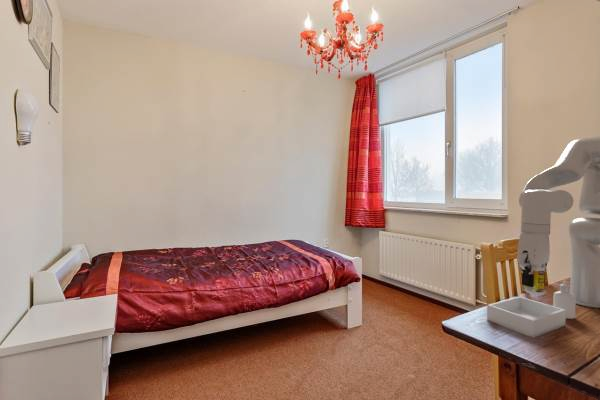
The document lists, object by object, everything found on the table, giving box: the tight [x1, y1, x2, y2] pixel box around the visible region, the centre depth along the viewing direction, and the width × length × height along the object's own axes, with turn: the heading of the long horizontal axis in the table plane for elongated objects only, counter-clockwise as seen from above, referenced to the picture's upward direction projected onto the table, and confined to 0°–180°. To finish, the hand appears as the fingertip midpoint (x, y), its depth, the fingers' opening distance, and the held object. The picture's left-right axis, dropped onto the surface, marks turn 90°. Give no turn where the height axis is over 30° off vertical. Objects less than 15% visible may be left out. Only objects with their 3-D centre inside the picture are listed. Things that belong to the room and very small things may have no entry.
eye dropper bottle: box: [552, 280, 577, 320], centre depth 105 cm, size 4×6×12 cm
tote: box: [486, 295, 567, 338], centre depth 101 cm, size 18×14×5 cm
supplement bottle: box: [522, 262, 546, 295], centre depth 102 cm, size 6×6×10 cm
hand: (533, 284), depth 102 cm, fingers closed on supplement bottle, 5 cm apart
